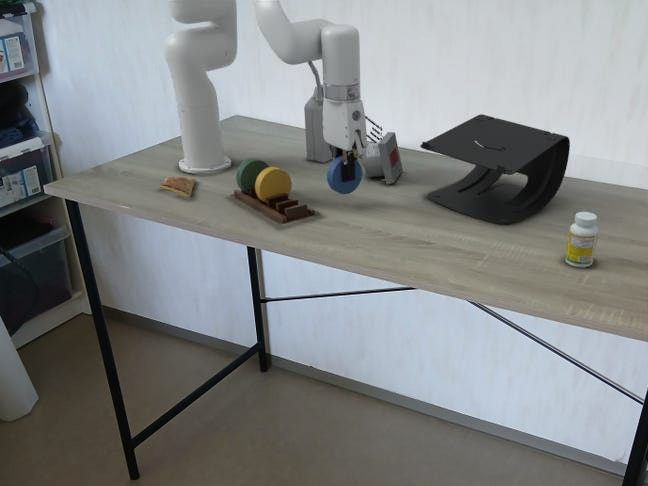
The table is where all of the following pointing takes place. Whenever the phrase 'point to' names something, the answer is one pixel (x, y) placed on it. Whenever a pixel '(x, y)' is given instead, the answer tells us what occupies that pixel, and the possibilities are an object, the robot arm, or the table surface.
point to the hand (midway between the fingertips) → (344, 178)
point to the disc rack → (276, 206)
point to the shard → (179, 185)
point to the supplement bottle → (582, 240)
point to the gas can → (316, 123)
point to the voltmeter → (382, 156)
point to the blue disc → (336, 177)
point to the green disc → (249, 173)
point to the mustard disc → (272, 183)
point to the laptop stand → (501, 168)
